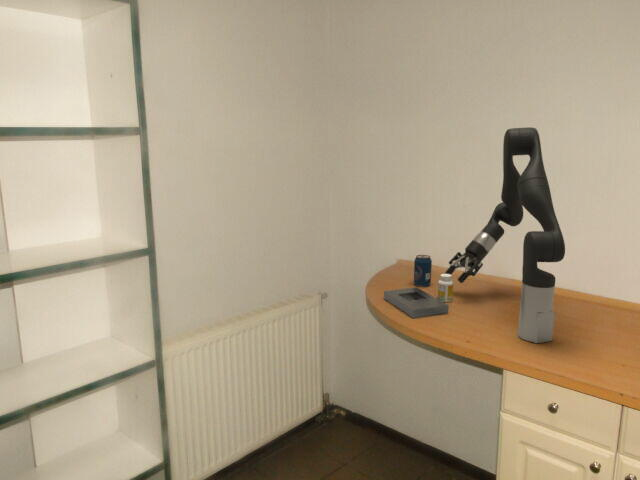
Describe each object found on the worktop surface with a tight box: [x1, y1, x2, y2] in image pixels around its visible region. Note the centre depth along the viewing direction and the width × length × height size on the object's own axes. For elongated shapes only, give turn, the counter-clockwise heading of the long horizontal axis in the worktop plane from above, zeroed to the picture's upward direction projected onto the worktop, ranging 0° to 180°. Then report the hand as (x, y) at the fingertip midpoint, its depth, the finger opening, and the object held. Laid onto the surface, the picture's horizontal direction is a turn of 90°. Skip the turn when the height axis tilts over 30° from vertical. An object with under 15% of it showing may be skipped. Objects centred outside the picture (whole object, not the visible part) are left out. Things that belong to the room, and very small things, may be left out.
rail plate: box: [383, 286, 450, 319], centre depth 190 cm, size 22×14×3 cm, turn 20°
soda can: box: [413, 254, 433, 288], centre depth 214 cm, size 7×7×12 cm
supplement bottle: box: [437, 273, 454, 303], centre depth 195 cm, size 5×5×10 cm
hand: (452, 278), depth 196 cm, fingers open, 8 cm apart
